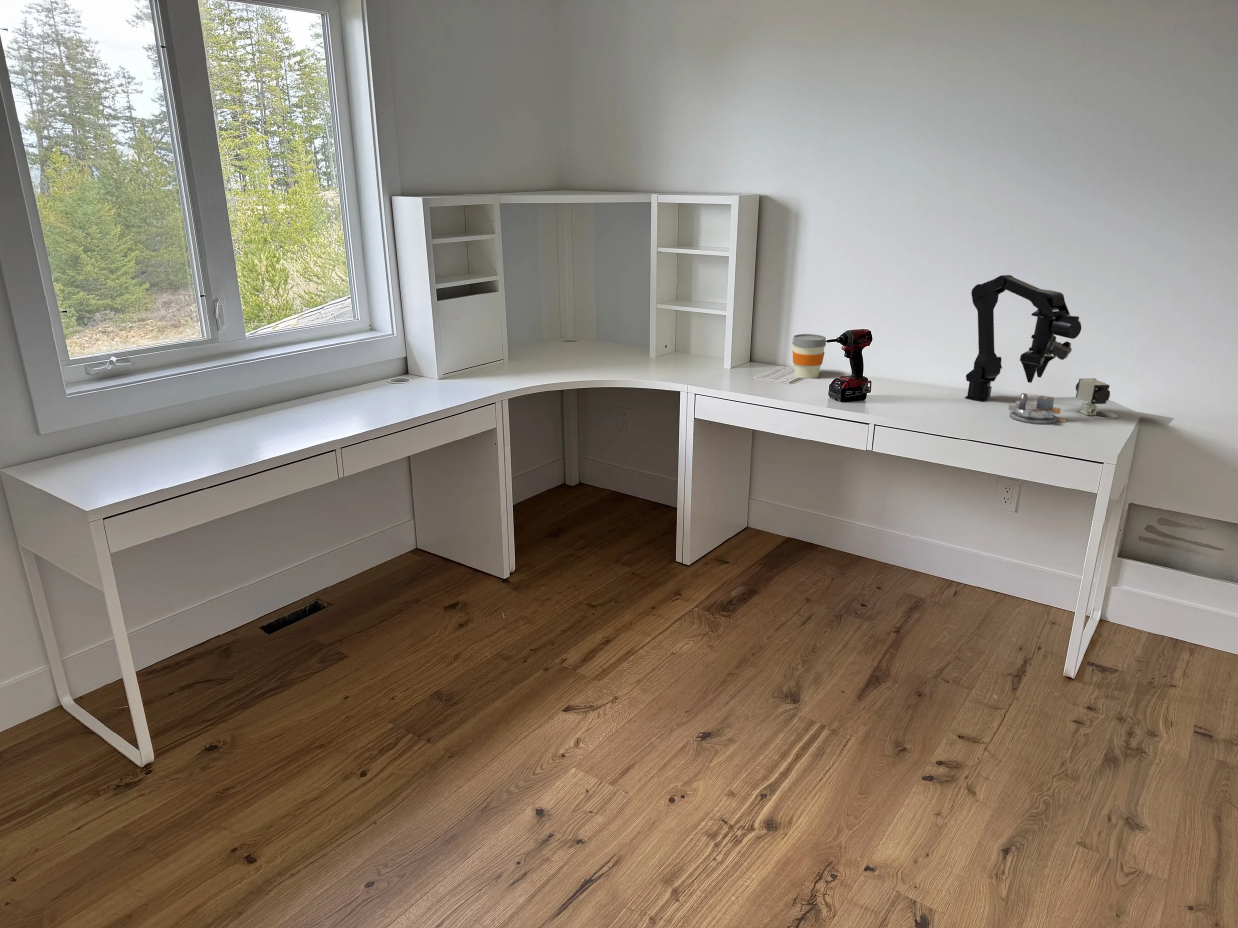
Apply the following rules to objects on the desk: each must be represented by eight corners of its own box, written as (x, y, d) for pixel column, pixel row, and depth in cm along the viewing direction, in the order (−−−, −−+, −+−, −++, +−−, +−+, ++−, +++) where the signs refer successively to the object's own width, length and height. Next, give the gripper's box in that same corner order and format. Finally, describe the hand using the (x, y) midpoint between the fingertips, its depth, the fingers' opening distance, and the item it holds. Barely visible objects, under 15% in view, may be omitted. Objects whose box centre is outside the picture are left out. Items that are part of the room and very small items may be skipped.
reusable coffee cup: (783, 375, 320) (786, 336, 315) (803, 370, 328) (806, 332, 323) (809, 381, 311) (813, 341, 306) (829, 376, 319) (833, 337, 314)
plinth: (1003, 418, 267) (1003, 415, 266) (1017, 409, 276) (1018, 407, 276) (1056, 428, 256) (1056, 425, 256) (1069, 419, 266) (1070, 416, 266)
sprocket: (1028, 422, 258) (1032, 400, 256) (998, 409, 272) (1002, 388, 270) (1068, 419, 261) (1073, 398, 258) (1037, 407, 275) (1041, 386, 272)
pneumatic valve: (1091, 419, 266) (1099, 383, 262) (1070, 409, 277) (1077, 374, 273) (1108, 419, 267) (1115, 382, 262) (1086, 409, 278) (1093, 374, 273)
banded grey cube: (1036, 408, 265) (1037, 397, 264) (1039, 406, 267) (1040, 395, 266) (1049, 410, 262) (1051, 399, 261) (1052, 408, 264) (1054, 397, 263)
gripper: (1062, 341, 251) (1051, 390, 256) (1080, 332, 263) (1070, 379, 269) (1024, 335, 258) (1014, 383, 263) (1043, 326, 271) (1034, 373, 276)
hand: (1034, 379), depth 268 cm, fingers open, 9 cm apart
